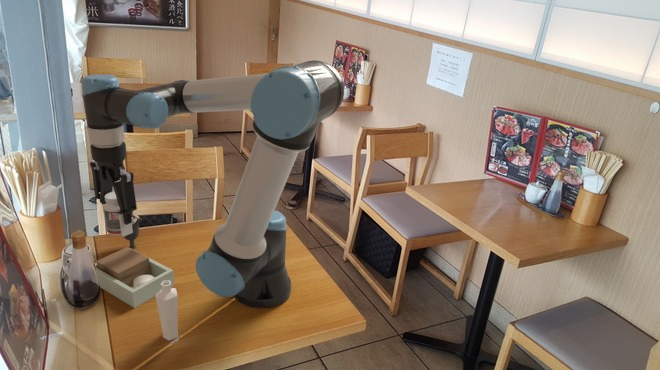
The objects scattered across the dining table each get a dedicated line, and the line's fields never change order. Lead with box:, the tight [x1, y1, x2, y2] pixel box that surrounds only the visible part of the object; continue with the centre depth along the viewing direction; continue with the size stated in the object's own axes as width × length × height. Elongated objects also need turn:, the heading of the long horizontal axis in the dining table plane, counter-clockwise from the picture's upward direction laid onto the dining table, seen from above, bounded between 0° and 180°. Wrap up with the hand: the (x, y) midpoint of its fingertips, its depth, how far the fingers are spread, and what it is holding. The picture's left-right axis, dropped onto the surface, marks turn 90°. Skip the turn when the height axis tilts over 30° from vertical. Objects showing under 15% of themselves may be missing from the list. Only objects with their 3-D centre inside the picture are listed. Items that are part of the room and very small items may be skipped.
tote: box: [94, 248, 175, 309], centre depth 121 cm, size 18×12×6 cm, turn 58°
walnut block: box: [95, 246, 151, 288], centre depth 122 cm, size 9×9×6 cm
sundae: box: [123, 211, 143, 250], centre depth 134 cm, size 7×7×15 cm
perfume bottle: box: [155, 281, 180, 345], centre depth 102 cm, size 5×4×15 cm
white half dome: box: [133, 275, 154, 289], centre depth 118 cm, size 5×5×3 cm
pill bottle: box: [103, 191, 125, 237], centre depth 115 cm, size 6×6×10 cm
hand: (119, 230), depth 117 cm, fingers closed on pill bottle, 6 cm apart
